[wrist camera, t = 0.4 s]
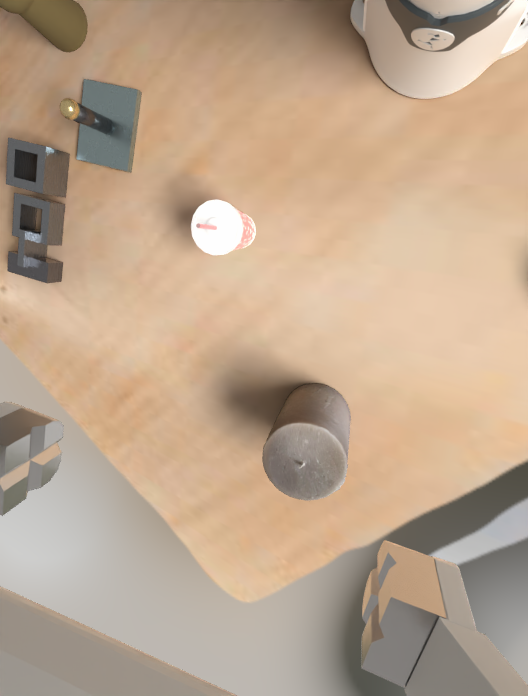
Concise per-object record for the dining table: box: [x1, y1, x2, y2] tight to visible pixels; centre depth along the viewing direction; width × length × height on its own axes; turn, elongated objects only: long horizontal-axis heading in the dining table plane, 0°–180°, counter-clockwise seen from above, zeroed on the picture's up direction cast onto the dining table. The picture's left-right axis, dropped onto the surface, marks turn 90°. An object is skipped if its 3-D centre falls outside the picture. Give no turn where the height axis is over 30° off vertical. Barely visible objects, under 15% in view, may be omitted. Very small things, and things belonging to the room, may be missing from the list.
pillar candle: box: [263, 384, 351, 500], centre depth 51 cm, size 10×10×15 cm
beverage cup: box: [191, 200, 256, 255], centre depth 48 cm, size 6×6×14 cm
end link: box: [6, 138, 70, 197], centre depth 58 cm, size 6×6×4 cm
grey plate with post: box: [60, 79, 142, 172], centre depth 52 cm, size 10×8×9 cm
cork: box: [0, 0, 88, 52], centre depth 49 cm, size 6×6×11 cm
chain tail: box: [8, 193, 65, 283], centre depth 60 cm, size 12×7×4 cm, turn 166°
